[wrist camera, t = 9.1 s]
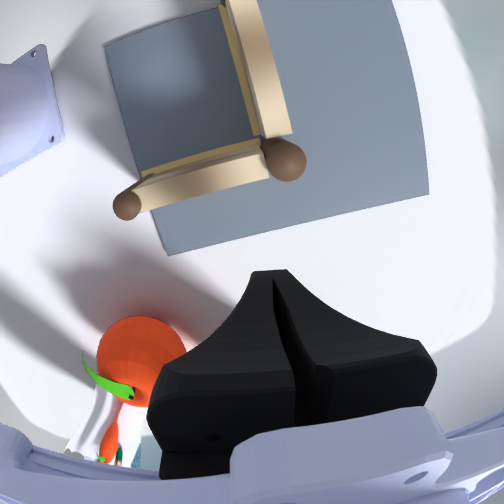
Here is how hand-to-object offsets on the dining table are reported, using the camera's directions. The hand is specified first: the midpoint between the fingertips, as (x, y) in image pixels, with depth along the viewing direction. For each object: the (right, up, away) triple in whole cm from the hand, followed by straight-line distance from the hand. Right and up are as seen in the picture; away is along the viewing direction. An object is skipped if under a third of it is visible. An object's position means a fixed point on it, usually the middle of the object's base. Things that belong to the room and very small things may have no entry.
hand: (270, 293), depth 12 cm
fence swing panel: (-1, +13, +4) cm, 13 cm away
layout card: (+1, +10, +6) cm, 12 cm away
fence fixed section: (-3, +7, +7) cm, 10 cm away
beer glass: (-14, -12, +16) cm, 24 cm away
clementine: (-9, -5, +12) cm, 16 cm away
